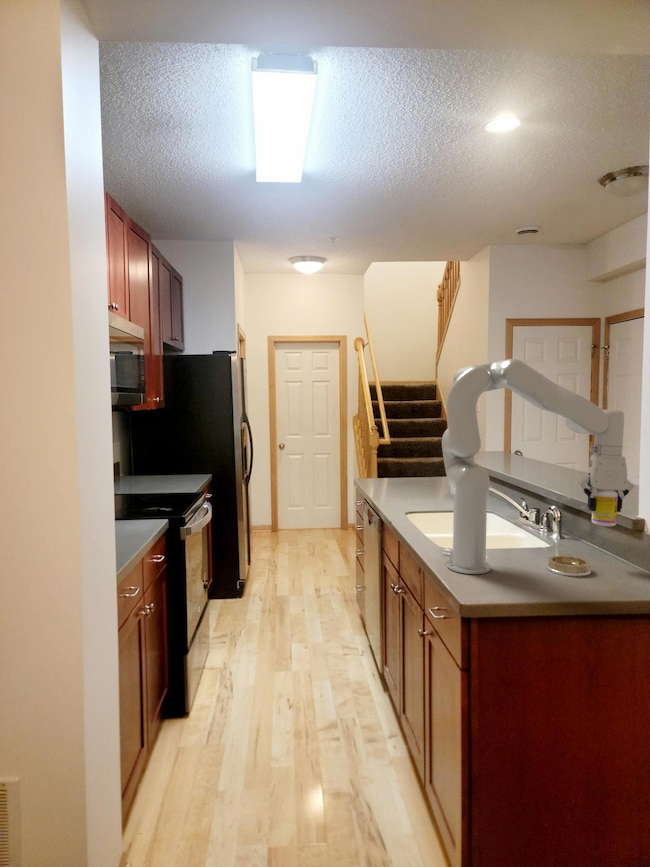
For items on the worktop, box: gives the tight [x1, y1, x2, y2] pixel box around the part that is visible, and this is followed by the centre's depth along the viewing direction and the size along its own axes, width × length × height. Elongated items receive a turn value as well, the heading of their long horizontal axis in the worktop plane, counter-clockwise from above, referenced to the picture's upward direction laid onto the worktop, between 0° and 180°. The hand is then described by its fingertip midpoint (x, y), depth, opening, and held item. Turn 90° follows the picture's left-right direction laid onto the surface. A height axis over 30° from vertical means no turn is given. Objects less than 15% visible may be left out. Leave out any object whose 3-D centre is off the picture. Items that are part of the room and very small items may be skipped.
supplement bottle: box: [591, 490, 618, 527], centre depth 164 cm, size 7×7×13 cm
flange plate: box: [546, 555, 592, 578], centre depth 162 cm, size 12×12×3 cm
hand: (604, 510), depth 164 cm, fingers closed on supplement bottle, 6 cm apart
